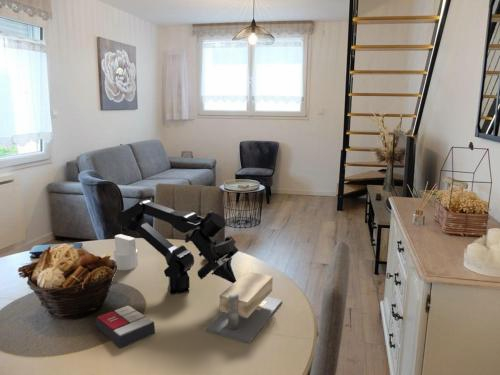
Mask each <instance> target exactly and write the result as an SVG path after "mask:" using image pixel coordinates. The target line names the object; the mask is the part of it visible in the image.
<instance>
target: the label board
mask: <svg viewBox="0 0 500 375" xmlns="http://www.w3.org/2000/svg"><path fill="white" fill-rule="evenodd" d="M282 303H283V300H282V299H279V298H275V297H271V296H267V297H266V298H265V299H264V300H263V301H262V303H261V304H260V305H259V306H258V307H257V308H256V309H255V310H254V311H253V312H252V314H251V315H250V316H249V317H248V318H245V317H241V316H238V329H236V330H230V329H229V328H228V313H226V312H222V311H221V313H219V315H217V316H216V317H215V319H214V320H213V321H212V322H210V323H209V324H208V325H207V326H206V327H205V332H208V333H213V334H216V335H219V336H223V337H226V338H228V339H229V338H230V339H232V340H235V341H239V342H242V343H246V344H251V343H250V342H251V341H253V339H254V338H255V337H256V335H257V334H258V333H259V332H260V330H262V328H263V327H264V325H265V324H266V323H267V321H268V320H269V319H270V318H271V317H272V316H273V314H274V313H275V312H276V311H277V309H279V307H280V306H281V304H282Z"/></svg>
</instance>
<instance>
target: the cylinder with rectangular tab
mask: <svg viewBox="0 0 500 375" xmlns="http://www.w3.org/2000/svg"><path fill="white" fill-rule="evenodd" d="M136 242H137V241H136V238H135V237H132V236H128V235H127V234H126V235H124V234H121V233H120V234H116V235H114V245H115V246H114V247H115V250H114V251H113V260H114V261H116V262H117V264H118V269H117V270H118V271H130V270H133V269H136V268H137V267H138V266H139V257H138V256H139V255H138V249H137V245H136V244H137V243H136Z"/></svg>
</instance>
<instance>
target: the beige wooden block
mask: <svg viewBox="0 0 500 375" xmlns="http://www.w3.org/2000/svg"><path fill="white" fill-rule="evenodd" d="M273 277H274V276H272V275H268V274H263V273H258V272H253V271H248V270H247V271H246V272H245V273H244V274H242V276H240V278H238V279H236V282H235V283H231V285H229V287H228V288H227V289H226V290H224V291H223V292H222V293H221V294H219V312H221V313H222V312H226V313H228V328H229V329H230V330H236V329H238V316H241V317H245V318H248V317H249V316H250V315H251V314H252V312H253V311H254V310H255V309H256V308H257V307H258V306H259V305H260V304H261V303H262V301H263V300H264V299H265V298H266V297H269V295H270V294H271V293H272V291H273V282H274V281H273V279H274V278H273Z"/></svg>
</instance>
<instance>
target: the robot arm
mask: <svg viewBox="0 0 500 375" xmlns="http://www.w3.org/2000/svg"><path fill="white" fill-rule="evenodd" d="M144 215H147V216H149V217H153V218H154V219H158V220H160V221H163V222H166V223H168V224H170V225H171V226H172V228H173V229H175V230H176V231H178V232H180V233H182V234H185V239H184V242H185V244H186V243H189V242H192V244H193V245H194V246H195V248H196V249H197V250H198V252H199V253H198V256H199V257H204V260H206V263H205V264H204V265H203V266H202V267H200V268H199V269H198V270H197V277H198V278H199V279H200V280H203V279H204V278H205V277H207V275H208V274H210V273H211V275H214V276H217V277H220V278H222V279H224V280H226V281H228V282H230V283H231V284H234V283H235V282H236V281H237V279H236V277H235V274H234V272H233V268H232V259H233V257H234V255H236V254H237V253H238V252H239V249H238V248H237V247H236V245H235V244H236V240H235V239H234V237H233V236H232V235H228V236H226V237H225V238H224V241H222V242H219V241H218V240H213V239H212V238H214V237H215V236H216V235H218V234H219V233H220V232H222V230H223V229H224V228H225V227H226V226H227V225H226V224H227V223H226V220H225V219H224V218H223V216H221V215H219V214H218V213H215V212H214V211H213V210H211V211H209V212H208V213H207V214H206V216H205V217H203V216H200V215H198V214H197V213H196V212H193V211H189V210H188V211H187V210H174V208H170V207H167V206H164V205H161V204H159V203H156V202H153V201H151V200H150V199H144V200H139V201H138V202H137V203H135V204H134V205H133V206H131V207H129V208H126V209H123V210H121V211H118V213H117V216H116V219H117V223H118V225H119V226H121V228H124V229H126V230H127V231H130V232H135V233H137V234H138V235H139V236H140V237H141V238H142V239H143V240H145V241H146V242H147V243H148V244H149V245H150V246H151V247H152V248H154V250H156V252H159V253H160V255H162V256H163V258H164V259H165V262H166V264H167V266H168V267H166V268H165V269H163V273H164V275H165V277H167V278H168V285H167V288H168V292H169V293H170V295H176V294H183V293H189V292H190V288H191V287H190V286H191V285H190V276H189V273H188V271H191V268H192V267H193V265H194V264H195V256H194V255H193V254H192V251H190V250H189V249H188V248H187V247H186V246H184V245H183V244H182V245H180V246H175V245H174V244H173V243H172V242H170V241H169V240H168V239H167V238H165V237H164V236H163V235H162V234H161V233H159V232H158V231H157V230H156V229H155V228H154V227H152V226H151V225H150V224H149V223H148V222H147V220H146V218H145V216H144ZM190 231H191V232H190Z"/></svg>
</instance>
